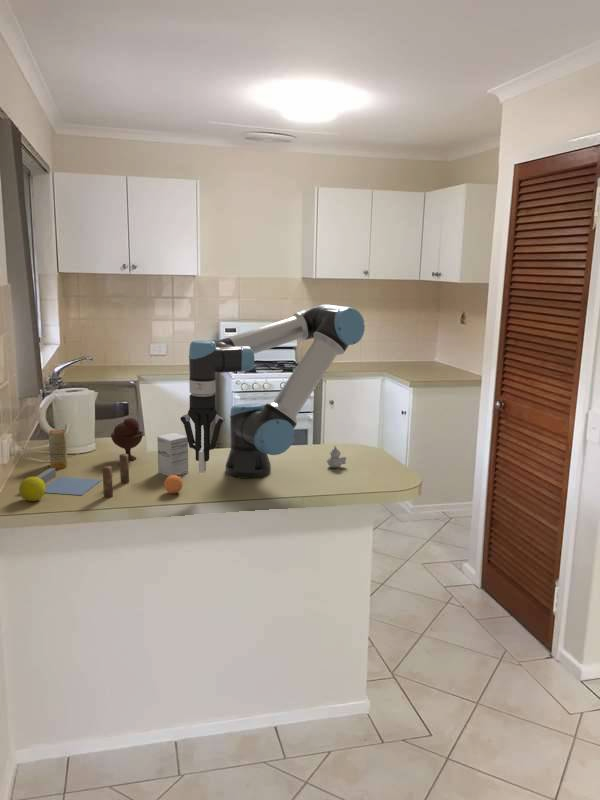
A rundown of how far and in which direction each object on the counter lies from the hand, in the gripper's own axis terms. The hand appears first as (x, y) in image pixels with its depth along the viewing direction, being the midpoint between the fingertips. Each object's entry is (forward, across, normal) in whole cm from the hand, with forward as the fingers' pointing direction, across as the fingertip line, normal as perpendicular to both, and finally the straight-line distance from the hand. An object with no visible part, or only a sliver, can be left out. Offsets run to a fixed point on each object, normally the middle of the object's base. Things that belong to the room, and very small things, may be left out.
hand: (202, 471), depth 195 cm
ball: (+5, -9, 0) cm, 10 cm away
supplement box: (+8, -15, +18) cm, 25 cm away
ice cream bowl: (+8, -35, +29) cm, 46 cm away
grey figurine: (+7, +38, +34) cm, 52 cm away
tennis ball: (+9, -47, -13) cm, 50 cm away
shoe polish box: (+8, -55, +18) cm, 59 cm away
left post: (+8, -27, -6) cm, 29 cm away
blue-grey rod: (+8, -52, 0) cm, 53 cm away
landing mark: (+8, -42, 0) cm, 43 cm away
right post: (+8, -27, +7) cm, 29 cm away
